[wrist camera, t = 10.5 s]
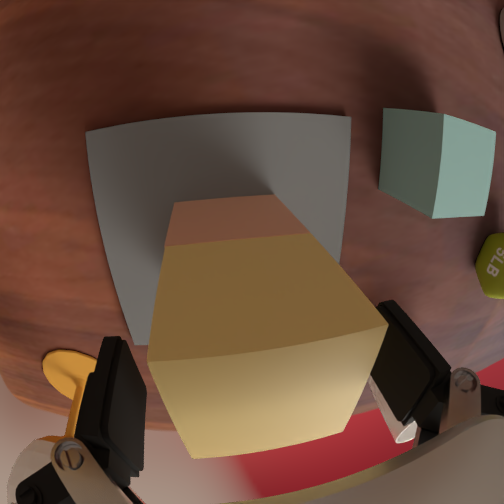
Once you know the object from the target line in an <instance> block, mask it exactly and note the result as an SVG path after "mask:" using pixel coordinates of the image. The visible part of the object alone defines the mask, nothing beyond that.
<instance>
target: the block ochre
mask: <svg viewBox="0 0 504 504" xmlns="http://www.w3.org/2000/svg"><path fill="white" fill-rule="evenodd" d="M388 325H389V324H388V323H387V321H386V320H385V319H384V318H383V316H382V315H381V314H380V313H379V312H378V310H377V309H376V308H375V307H374V305H373V304H372V303H371V302H370V301H369V299H368V298H367V297H366V296H365V295H364V293H363V292H362V291H361V290H360V289H359V287H358V286H357V285H356V284H355V283H354V282H353V280H352V279H351V278H350V277H349V276H348V275H347V273H346V272H345V271H344V270H343V269H342V268H341V266H340V265H339V264H338V263H337V262H336V261H335V260H334V258H333V257H332V256H331V255H330V254H329V253H328V252H327V251H326V249H325V248H324V247H323V246H322V245H321V244H320V243H319V242H318V241H317V239H316V238H315V237H314V236H313V235H312V234H311V233H307V234H295V235H284V236H272V237H261V238H249V239H238V240H228V241H217V242H206V243H196V244H186V245H176V246H166V247H165V250H164V255H163V260H162V265H161V270H160V276H159V281H158V287H157V292H156V298H155V305H154V311H153V317H152V324H151V331H150V339H149V346H148V354H147V364H148V367H149V369H150V372H151V374H152V376H153V379H154V381H155V384H156V386H157V388H158V391H159V393H160V395H161V397H162V400H163V402H164V404H165V406H166V408H167V411H168V413H169V415H170V417H171V419H172V421H173V423H174V425H175V427H176V429H177V431H178V433H179V435H180V437H181V439H182V441H183V443H184V444H185V447H186V448H187V450H188V452H189V454H190V456H191V457H192V459H198V458H211V457H222V456H231V455H239V454H246V453H253V452H259V451H265V450H270V449H275V448H281V447H286V446H290V445H294V444H299V443H303V442H307V441H311V440H315V439H319V438H322V437H326V436H329V435H333V434H336V433H339V432H342V431H343V430H344V428H345V426H346V424H347V422H348V420H349V418H350V416H351V414H352V412H353V410H354V408H355V406H356V404H357V402H358V400H359V398H360V395H361V393H362V391H363V389H364V387H365V384H366V382H367V380H368V377H369V375H370V373H371V370H372V368H373V365H374V363H375V360H376V358H377V355H378V353H379V350H380V347H381V345H382V342H383V339H384V336H385V334H386V331H387V328H388Z"/></svg>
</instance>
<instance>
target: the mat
mask: <svg viewBox="0 0 504 504" xmlns="http://www.w3.org/2000/svg"><path fill="white" fill-rule="evenodd" d="M85 134H86V145H87V154H88V162H89V169H90V176H91V183H92V189H93V195H94V200H95V206H96V211H97V216H98V221H99V226H100V230H101V235H102V239H103V243H104V247H105V252H106V255H107V259H108V263H109V267H110V271H111V274H112V278H113V281H114V285H115V288H116V291H117V295H118V298H119V301H120V304H121V307H122V310H123V313H124V316H125V319H126V322H127V325H128V328H129V331H130V333H131V336H132V339H133V341H134V344H135V345H149V339H150V331H151V324H152V317H153V311H154V305H155V298H156V292H157V287H158V281H159V276H160V270H161V265H162V260H163V255H164V250H165V248H164V245H165V240H166V236H167V231H168V227H169V223H170V219H171V214H172V210H173V206H174V202H184V201H194V200H205V199H216V198H228V197H242V196H256V195H273V194H275V195H276V197H277V198H278V199H279V200H280V201H281V202H282V203H283V204H284V205H285V206H286V207H287V208H288V209H289V210H290V211H291V212H292V213H293V214H294V216H295V217H296V218H297V219H298V220H299V221H300V222H301V223H302V224H303V225H304V226H305V227H306V229H307V230H308V231H309V232H310V233H311V234H312V235H313V236H314V237H315V238H316V239H317V241H318V242H319V243H320V244H321V245H322V246H323V247H324V248H325V249H326V251H327V252H328V253H329V254H330V255H331V256H332V257H333V258H334V260H335V261H336V262H337V263H338V264H339V261H340V254H341V246H342V238H343V230H344V221H345V211H346V201H347V189H348V176H349V161H350V141H351V117H347V116H336V115H324V114H308V113H283V112H245V113H219V114H203V115H191V116H180V117H171V118H162V119H155V120H147V121H141V122H134V123H128V124H123V125H117V126H112V127H107V128H102V129H97V130H92V131H88V132H85Z"/></svg>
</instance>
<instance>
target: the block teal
mask: <svg viewBox="0 0 504 504" xmlns="http://www.w3.org/2000/svg"><path fill="white" fill-rule="evenodd" d="M495 139H496V132H495V131H492V130H490V129H487V128H484V127H482V126H479V125H476V124H473V123H470V122H468V121H465V120H462V119H458V118H455V117H452V116H449V115H446V114H440V113H433V112H425V111H416V110H406V109H393V108H383V133H382V152H381V166H380V177H379V187H378V189H379V190H381V191H383V192H385V193H387V194H389V195H390V196H392V197H394V198H396V199H398V200H400V201H402V202H404V203H406V204H407V205H409V206H411V207H413V208H415V209H416V210H418V211H420V212H422V213H423V214H425V215H427V216H429V217H430V218H450V217H469V216H484V214H485V209H486V205H487V200H488V194H489V189H490V182H491V176H492V169H493V160H494V151H495Z"/></svg>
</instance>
